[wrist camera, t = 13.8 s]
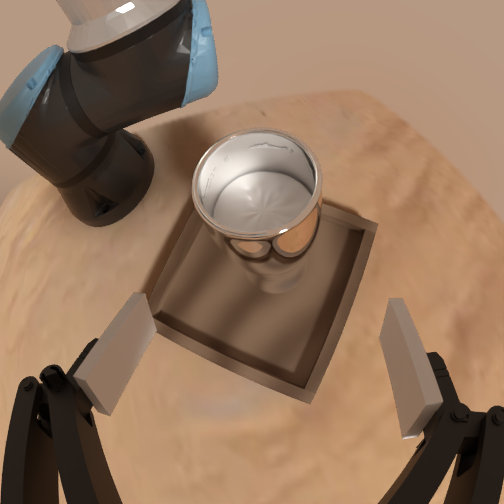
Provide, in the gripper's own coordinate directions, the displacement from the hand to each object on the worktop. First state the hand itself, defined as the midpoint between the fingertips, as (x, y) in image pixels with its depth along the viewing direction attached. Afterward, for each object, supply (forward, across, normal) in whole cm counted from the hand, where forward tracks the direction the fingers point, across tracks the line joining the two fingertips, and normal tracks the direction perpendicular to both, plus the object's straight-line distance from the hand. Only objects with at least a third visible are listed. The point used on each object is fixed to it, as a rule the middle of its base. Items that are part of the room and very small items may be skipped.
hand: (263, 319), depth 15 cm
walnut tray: (+15, -2, -7) cm, 17 cm away
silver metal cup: (+13, 0, -4) cm, 14 cm away
